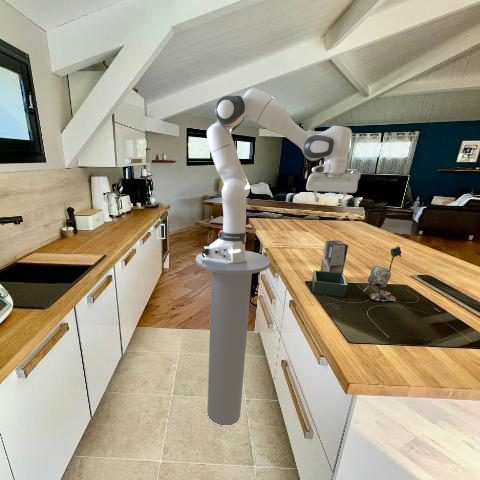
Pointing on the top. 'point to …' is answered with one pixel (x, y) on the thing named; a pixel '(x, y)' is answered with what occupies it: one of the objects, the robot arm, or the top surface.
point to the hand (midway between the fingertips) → (328, 202)
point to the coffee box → (334, 256)
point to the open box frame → (329, 283)
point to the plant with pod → (382, 279)
